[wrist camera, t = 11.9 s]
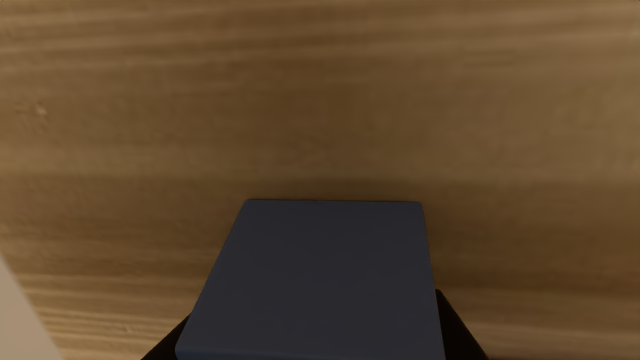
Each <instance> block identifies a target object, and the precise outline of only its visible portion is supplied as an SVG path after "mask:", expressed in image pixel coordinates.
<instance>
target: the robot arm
mask: <svg viewBox="0 0 640 360" xmlns="http://www.w3.org/2000/svg"><path fill="white" fill-rule="evenodd" d="M435 293H436V299H437V306H438V313H439V319H440V326H441V332H442V339H443V345H444V352H445V359H446V360H489V358H488V357H487V356H486V354H485V353H484V351H483V350H482V348H481V347H480V346H479V344H478V343H477V341H476V340H475V339H474V337H473V336H472V334H471V333H470V332H469V330H468V329H467V327H466V326H465V324H464V323H463V322H462V320H461V319H460V317H459V316H458V315H457V313H456V312H455V310H454V309H453V307H452V306H451V305H450V303H449V302H448V300H447V299H446V298H445V296H444V295H443V293H442V292H441V291H440V290H439V289H435ZM190 314H191V313H190ZM190 314H189V315H188V316H187V317H186V318H185V319H184V320H183V321H182V322H181V323H180V324H178V325H177V326H176V327H175V328H174V329H173V330H172V331H171V332H170V333H169V334H168V335H167V336H166V337H164V338H163V339H162V340H161V341H160V342H159V343H158V344H157V345H156V346H155V347H154V348H153V349H152V350H151V351H149V352H148V353H147V354H146V355H145V356H144V357H143V358H142V359H141V360H178V358H177V356H176V353H175V346H176V344H177V342H178V340H179V337H180V335H181V333H182V331H183V329H184V327H185V325H186V323H187V321H188V319H189V316H190Z"/></svg>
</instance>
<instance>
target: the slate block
mask: <svg viewBox="0 0 640 360" xmlns="http://www.w3.org/2000/svg"><path fill="white" fill-rule="evenodd" d="M175 353H176V356H177V358H178V360H446V359H445V352H444V345H443V339H442V332H441V326H440V319H439V313H438V306H437V299H436V293H435V286H434V280H433V273H432V266H431V260H430V253H429V247H428V240H427V233H426V227H425V220H424V214H423V207H422V204H421V203H419V202H371V201H303V200H246V201H244V203H243V206H242V208H241V210H240V212H239V214H238V216H237V218H236V220H235V222H234V224H233V226H232V229H231V231H230V233H229V235H228V237H227V239H226V241H225V243H224V245H223V247H222V249H221V252H220V254H219V256H218V258H217V260H216V262H215V264H214V266H213V268H212V270H211V273H210V275H209V277H208V279H207V281H206V283H205V285H204V287H203V289H202V291H201V293H200V296H199V298H198V300H197V302H196V304H195V306H194V308H193V310H192V312H191V314H190V316H189V319H188V321H187V323H186V325H185V327H184V329H183V331H182V333H181V335H180V337H179V340H178V342H177V344H176V346H175Z"/></svg>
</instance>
